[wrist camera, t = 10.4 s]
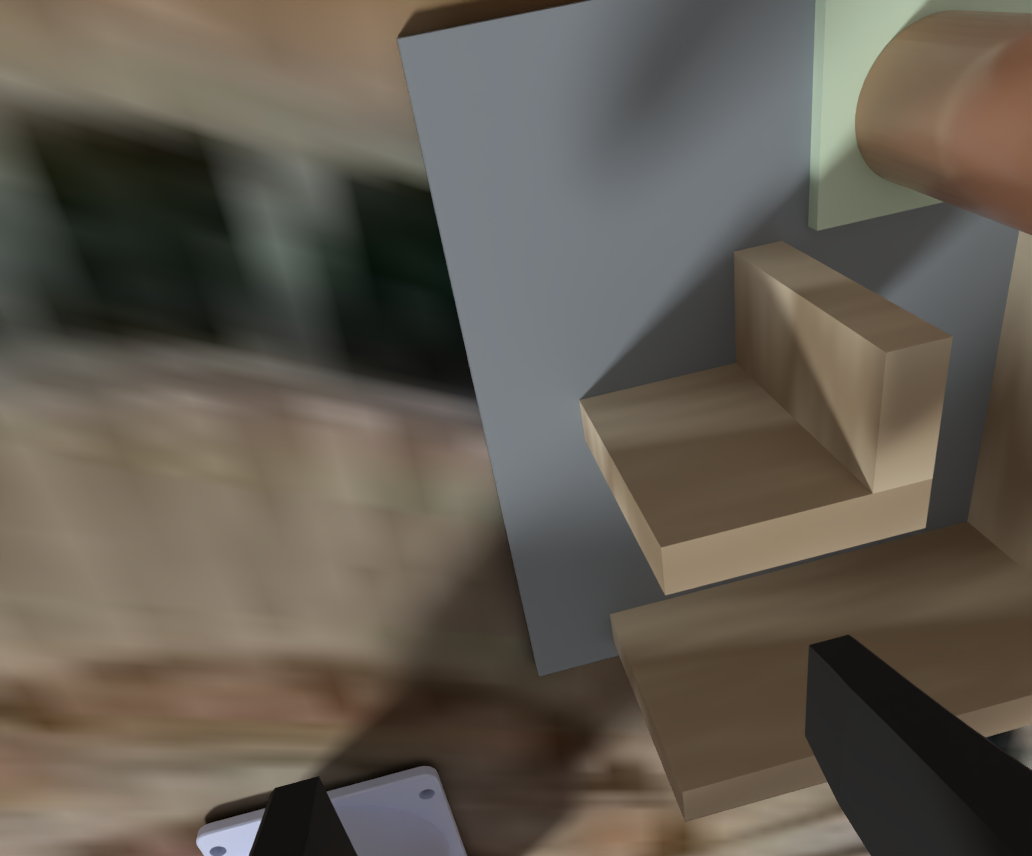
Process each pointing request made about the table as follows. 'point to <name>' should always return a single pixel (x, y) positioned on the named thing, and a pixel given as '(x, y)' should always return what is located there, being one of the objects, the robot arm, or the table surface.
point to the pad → (836, 88)
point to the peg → (955, 113)
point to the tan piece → (816, 525)
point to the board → (650, 257)
